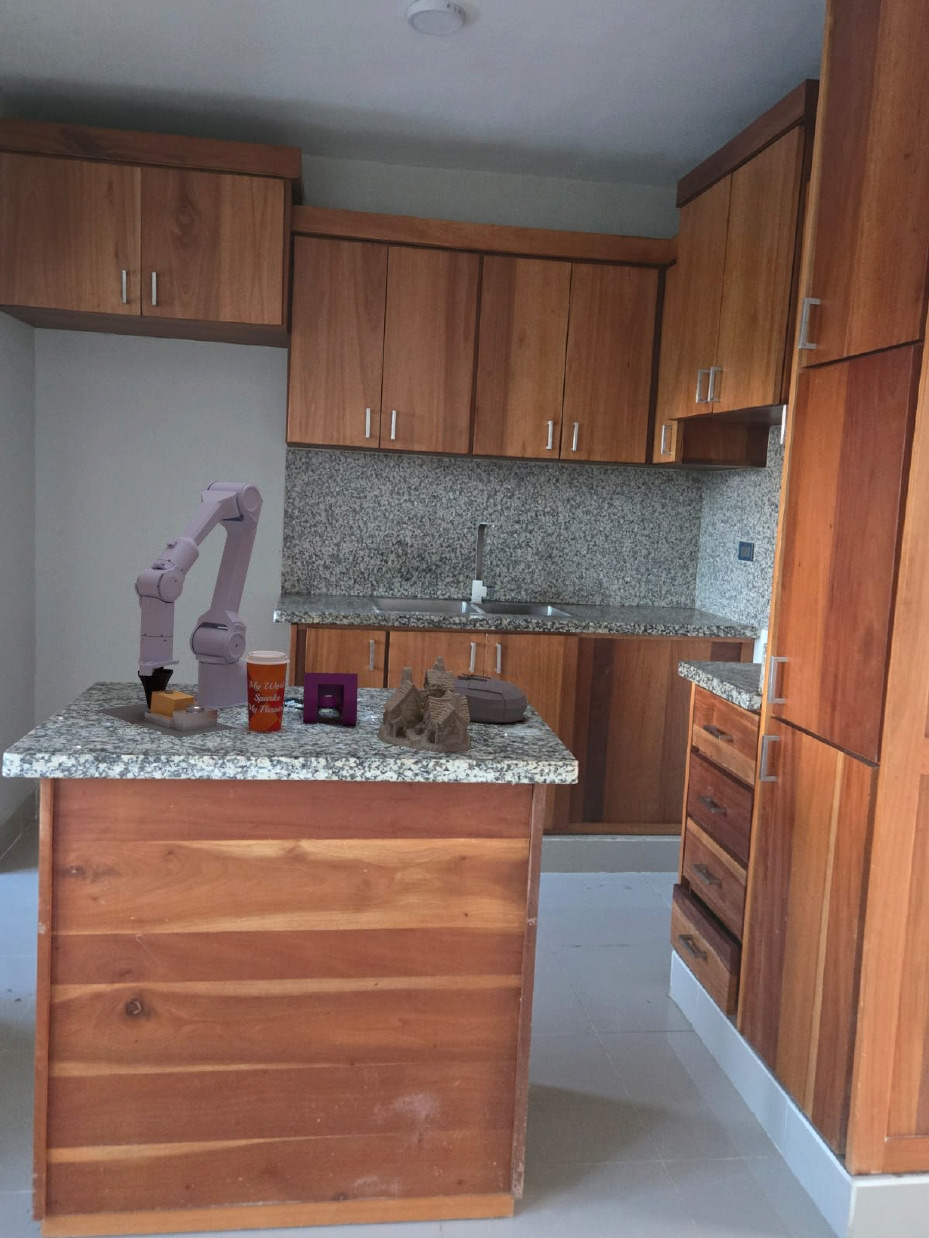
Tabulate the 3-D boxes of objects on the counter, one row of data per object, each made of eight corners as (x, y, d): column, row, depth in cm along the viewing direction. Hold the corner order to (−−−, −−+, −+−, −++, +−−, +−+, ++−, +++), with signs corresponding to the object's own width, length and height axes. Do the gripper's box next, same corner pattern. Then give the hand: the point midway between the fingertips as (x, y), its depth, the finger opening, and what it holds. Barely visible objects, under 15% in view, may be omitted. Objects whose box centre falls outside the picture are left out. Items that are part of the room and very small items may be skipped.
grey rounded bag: (418, 718, 196) (517, 729, 190) (420, 676, 195) (519, 686, 189) (442, 704, 210) (534, 715, 205) (444, 665, 209) (537, 675, 204)
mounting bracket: (302, 740, 198) (303, 718, 181) (303, 697, 201) (304, 672, 184) (351, 741, 200) (357, 719, 182) (351, 698, 203) (357, 673, 185)
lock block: (169, 712, 184) (172, 687, 183) (192, 720, 181) (194, 695, 180) (150, 715, 180) (152, 690, 180) (172, 723, 177) (175, 698, 176)
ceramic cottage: (376, 729, 183) (382, 649, 181) (464, 734, 185) (472, 656, 183) (378, 756, 168) (385, 669, 166) (474, 761, 170) (483, 676, 168)
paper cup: (244, 736, 173) (246, 656, 172) (241, 726, 181) (243, 649, 179) (289, 735, 175) (292, 657, 174) (285, 726, 183) (287, 650, 181)
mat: (151, 705, 194) (151, 702, 194) (236, 731, 177) (236, 727, 177) (94, 713, 185) (94, 710, 185) (177, 740, 168) (177, 737, 168)
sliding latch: (183, 715, 185) (184, 694, 184) (219, 725, 178) (220, 704, 177) (144, 720, 179) (145, 699, 178) (180, 732, 171) (180, 710, 171)
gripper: (169, 641, 174) (166, 717, 175) (188, 631, 189) (185, 702, 190) (128, 638, 174) (125, 715, 175) (150, 629, 188) (147, 700, 189)
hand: (154, 708), depth 182 cm, fingers closed, pressing on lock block
